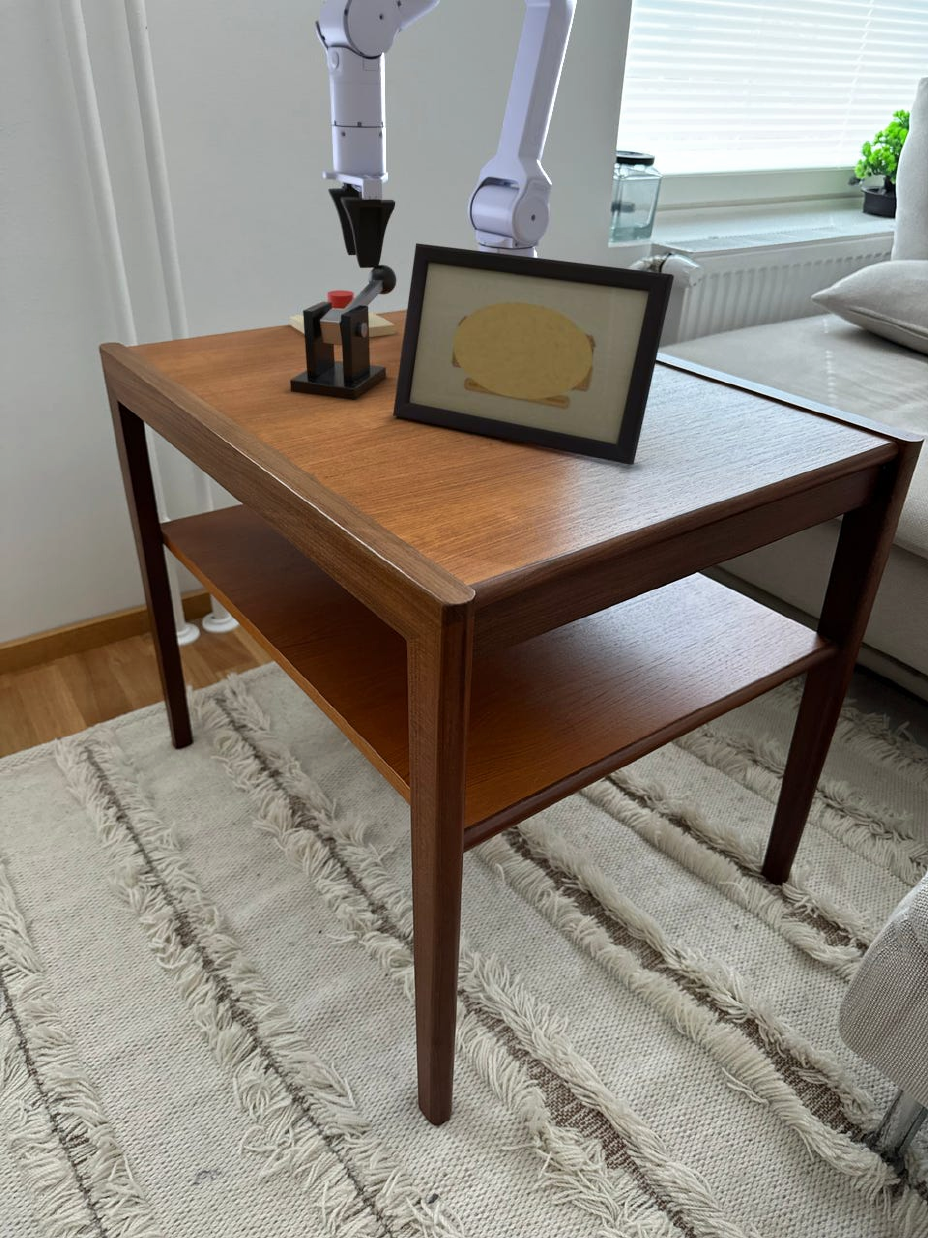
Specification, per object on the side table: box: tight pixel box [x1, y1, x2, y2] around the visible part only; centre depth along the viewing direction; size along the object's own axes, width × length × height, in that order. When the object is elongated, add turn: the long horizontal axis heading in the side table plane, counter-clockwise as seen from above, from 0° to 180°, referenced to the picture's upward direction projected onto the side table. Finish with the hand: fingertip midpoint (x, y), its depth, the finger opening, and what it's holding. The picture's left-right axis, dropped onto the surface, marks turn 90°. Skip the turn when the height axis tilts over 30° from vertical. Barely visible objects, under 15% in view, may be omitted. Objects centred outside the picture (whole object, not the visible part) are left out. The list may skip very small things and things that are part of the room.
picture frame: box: [392, 242, 675, 466], centre depth 79 cm, size 23×9×15 cm, turn 62°
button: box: [326, 289, 355, 309], centre depth 108 cm, size 3×3×2 cm
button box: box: [289, 299, 396, 338], centre depth 109 cm, size 10×9×3 cm
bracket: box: [289, 300, 387, 401], centre depth 89 cm, size 8×7×8 cm
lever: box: [320, 264, 397, 346], centre depth 93 cm, size 15×3×3 cm, turn 162°
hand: (362, 260), depth 102 cm, fingers open, 7 cm apart
